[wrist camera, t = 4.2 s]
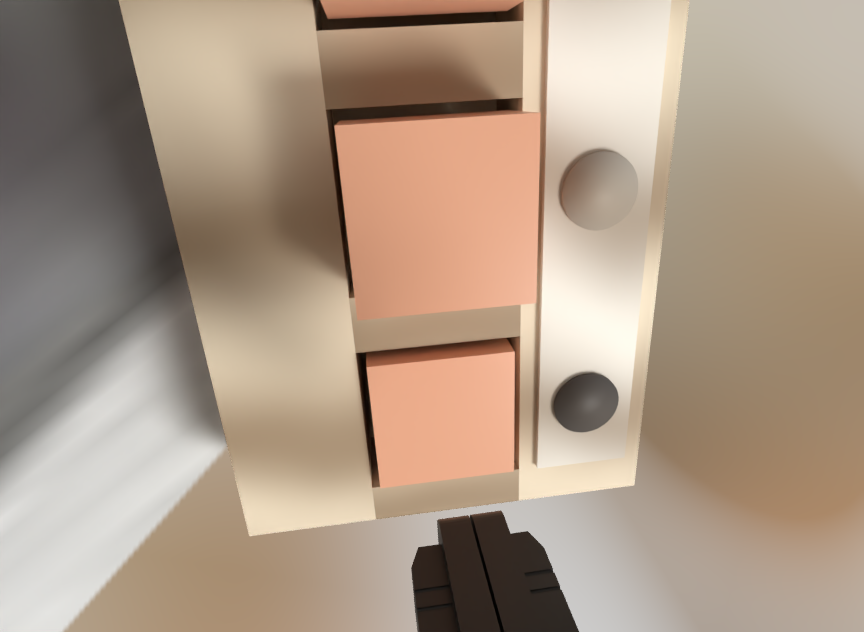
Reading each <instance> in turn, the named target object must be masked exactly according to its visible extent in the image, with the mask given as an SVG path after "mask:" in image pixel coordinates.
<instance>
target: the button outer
mask: <svg viewBox="0 0 864 632" xmlns="http://www.w3.org/2000/svg"><path fill="white" fill-rule="evenodd" d="M366 368H367V376H368V385H369V394H370V402H371V411H372V420H373V428H374V437H375V446H376V454H377V463H378V472H379V480H380V488H387V487H395V486H403V485H411V484H419V483H427V482H435V481H443V480H451V479H458V478H466V477H474V476H482V475H490V474H498V473H506V472H514V396H515V351H514V350H513V348H512V346H511V345H510V343H509V341H508V340H507V338H498V339H488V340H478V341H469V342H459V343H449V344H439V345H430V346H420V347H410V348H401V349H391V350H381V351H371V352H366Z"/></svg>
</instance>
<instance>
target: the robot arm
mask: <svg viewBox="0 0 864 632" xmlns="http://www.w3.org/2000/svg"><path fill="white" fill-rule="evenodd" d="M437 525H438V542H439V545H432V546H425V547H419V548H418V550H417V553H416V556H415V559H414V562H413V565H412V568H411V569H412V580H413V591H414V602H415V613H416V622H417V630H418V632H579V631H578V628H577V626H576V624H575V621H574V619H573V617H572V614H571V612H570V609H569V607H568V604H567V602H566V599H565V597H564V595H563V592H562V590H560V585H559V583H558V581H557V578H556V576H555V573H553V568H552V566H551V563H550V561H549V559H548V557H547V554H546V551H545V549H544V548H543V546H542V545H541V544H540V543H539V542H538V541H537V540H536V539H535V538H534V537H533V536H532V535H531V534H530V533H529V532H528V531H527V532H520V533H513V534H510V531H509V529H508V526H507V523H506V520H505V517H504V515H503V513H502V511H495V512H488V513H481V514H474V515H470V518H469V516H461V517H453V518H446V519H439V520H438V521H437Z"/></svg>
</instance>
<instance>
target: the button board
mask: <svg viewBox="0 0 864 632" xmlns="http://www.w3.org/2000/svg"><path fill="white" fill-rule="evenodd" d="M119 4H120V8H121V12H122V16H123V21H124V25H125V29H126V33H127V37H128V41H129V45H130V49H131V53H132V57H133V61H134V66H135V70H136V74H137V78H138V82H139V86H140V90H141V94H142V98H143V102H144V107H145V111H146V115H147V119H148V123H149V127H150V131H151V135H152V139H153V143H154V147H155V152H156V156H157V160H158V164H159V168H160V172H161V176H162V180H163V184H164V188H165V193H166V197H167V201H168V205H169V209H170V213H171V217H172V221H173V225H174V229H175V233H176V238H177V242H178V246H179V250H180V254H181V258H182V262H183V266H184V270H185V274H186V278H187V283H188V287H189V291H190V295H191V299H192V303H193V307H194V311H195V315H196V319H197V324H198V328H199V332H200V336H201V340H202V344H203V348H204V352H205V356H206V360H207V364H208V369H209V373H210V377H211V381H212V385H213V389H214V393H215V397H216V401H217V405H218V410H219V414H220V418H221V422H222V426H223V430H224V434H225V438H226V442H227V446H228V450H229V454H230V459H231V463H232V467H233V471H234V475H235V479H236V483H237V487H238V491H239V495H240V499H241V503H242V508H243V512H244V516H245V520H246V524H247V528H248V532H249V536H253V535H261V534H268V533H276V532H284V531H292V530H299V529H307V528H314V527H322V526H329V525H337V524H345V523H352V522H359V521H367V520H374V519H382V518H390V517H397V516H405V515H412V514H420V513H428V512H435V511H443V510H450V509H458V508H466V507H473V506H481V505H488V504H496V503H504V502H511V501H518V500H526V499H534V498H541V497H549V496H556V495H564V494H571V493H579V492H587V491H594V490H602V489H609V488H616V487H624V486H632V485H634V482H635V473H636V465H637V456H638V447H639V438H640V430H641V420H642V412H643V403H644V394H645V385H646V377H647V368H648V359H649V350H650V340H651V333H652V324H653V315H654V307H655V298H656V288H657V279H658V271H659V263H660V253H661V245H662V236H663V227H664V219H665V210H666V201H667V193H668V183H669V175H670V166H671V157H672V147H673V139H674V131H675V122H676V113H677V105H678V96H679V87H680V78H681V69H682V60H683V52H684V43H685V33H686V25H687V17H688V7H689V0H524V1H523V2H521V3H519V4H518V5H516V6H514V7H513V8H511V9H509V10H508V11H496V12H474V13H452V14H430V15H408V16H386V17H364V18H341V19H328V18H327V15H326V13H325V11H324V8H323V6H322V3H321V1H320V0H119ZM500 110H513V111H527V112H540V113H541V118H540V163H539V209H538V254H537V299H536V303H533V304H522V305H512V306H502V307H491V308H481V309H471V310H461V311H450V312H440V313H430V314H420V315H409V316H399V317H389V318H379V319H368V320H358V321H357V313H356V305H355V296H354V288H353V279H352V271H351V262H350V254H349V245H348V237H347V229H346V220H345V212H344V203H343V195H342V186H341V178H340V169H339V161H338V152H337V144H336V135H335V127H334V125H336V124H337V123H338V122H339V121H341V120H357V119H373V118H389V117H405V116H421V115H437V114H452V113H468V112H484V111H500ZM498 338H507V340H508V341H509V343H510V345H511V346H512V348H513V350H514V351H515V396H514V472H506V473H498V474H490V475H482V476H474V477H466V478H458V479H451V480H443V481H435V482H427V483H419V484H411V485H403V486H395V487H387V488H380V480H379V472H378V463H377V454H376V446H375V437H374V428H373V420H372V411H371V402H370V394H369V385H368V376H367V368H366V352H371V351H381V350H391V349H401V348H410V347H420V346H430V345H439V344H449V343H459V342H469V341H478V340H488V339H498Z"/></svg>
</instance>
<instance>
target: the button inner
mask: <svg viewBox="0 0 864 632" xmlns="http://www.w3.org/2000/svg"><path fill="white" fill-rule="evenodd" d="M320 1H321V3H322V6H323V8H324V11H325V13H326V15H327V18H328V19H341V18H364V17H386V16H408V15H430V14H452V13H474V12H496V11H508V10H509V9H511V8H513V7H514V6H516V5H518V4H519V3H521V2H523V1H524V0H320Z"/></svg>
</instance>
